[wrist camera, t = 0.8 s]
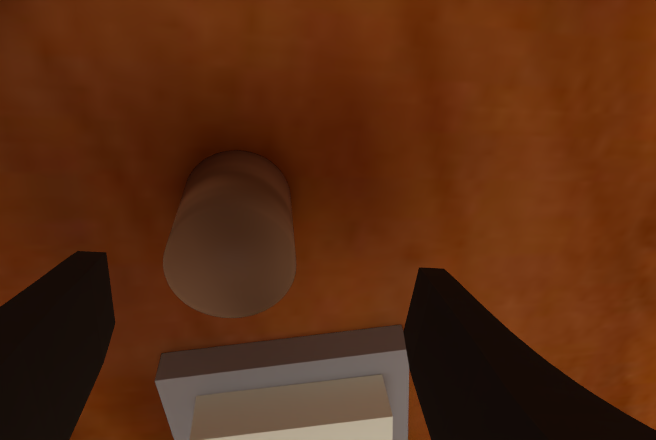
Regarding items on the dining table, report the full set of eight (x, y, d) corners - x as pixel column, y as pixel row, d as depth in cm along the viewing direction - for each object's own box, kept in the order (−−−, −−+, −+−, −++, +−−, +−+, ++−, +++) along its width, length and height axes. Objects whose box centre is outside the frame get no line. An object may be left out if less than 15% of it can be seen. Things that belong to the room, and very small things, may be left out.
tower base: (207, 486, 32) (203, 527, 30) (164, 343, 26) (154, 380, 24) (397, 460, 32) (406, 498, 30) (397, 315, 26) (409, 349, 24)
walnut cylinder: (195, 248, 22) (178, 324, 18) (174, 156, 20) (148, 217, 16) (295, 237, 23) (301, 310, 18) (284, 145, 20) (289, 202, 16)
